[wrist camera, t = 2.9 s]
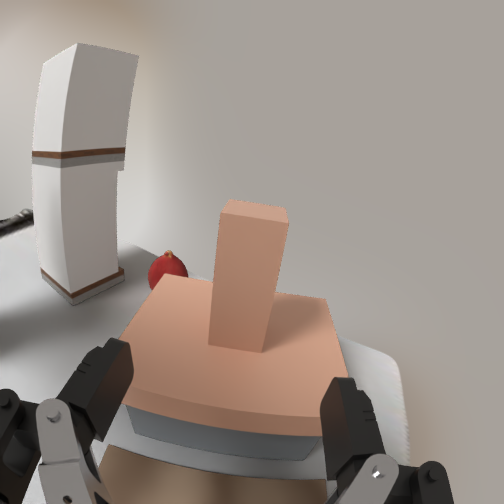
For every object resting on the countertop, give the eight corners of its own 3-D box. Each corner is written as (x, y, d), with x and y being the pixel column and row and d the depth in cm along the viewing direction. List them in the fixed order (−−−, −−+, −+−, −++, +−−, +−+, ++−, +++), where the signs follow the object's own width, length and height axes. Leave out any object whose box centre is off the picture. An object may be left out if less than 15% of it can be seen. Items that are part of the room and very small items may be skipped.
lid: (103, 396, 16) (67, 225, 11) (164, 293, 30) (169, 178, 25) (344, 435, 16) (431, 283, 11) (319, 318, 30) (350, 207, 25)
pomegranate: (147, 290, 41) (146, 242, 38) (182, 288, 44) (185, 241, 41) (151, 312, 36) (149, 259, 33) (191, 309, 39) (193, 258, 36)
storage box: (135, 432, 19) (118, 377, 16) (171, 345, 31) (171, 288, 28) (303, 460, 19) (335, 412, 16) (296, 365, 31) (314, 311, 28)
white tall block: (124, 280, 43) (139, 55, 29) (73, 305, 33) (77, 42, 20) (87, 259, 47) (96, 68, 33) (42, 277, 37) (43, 63, 24)
